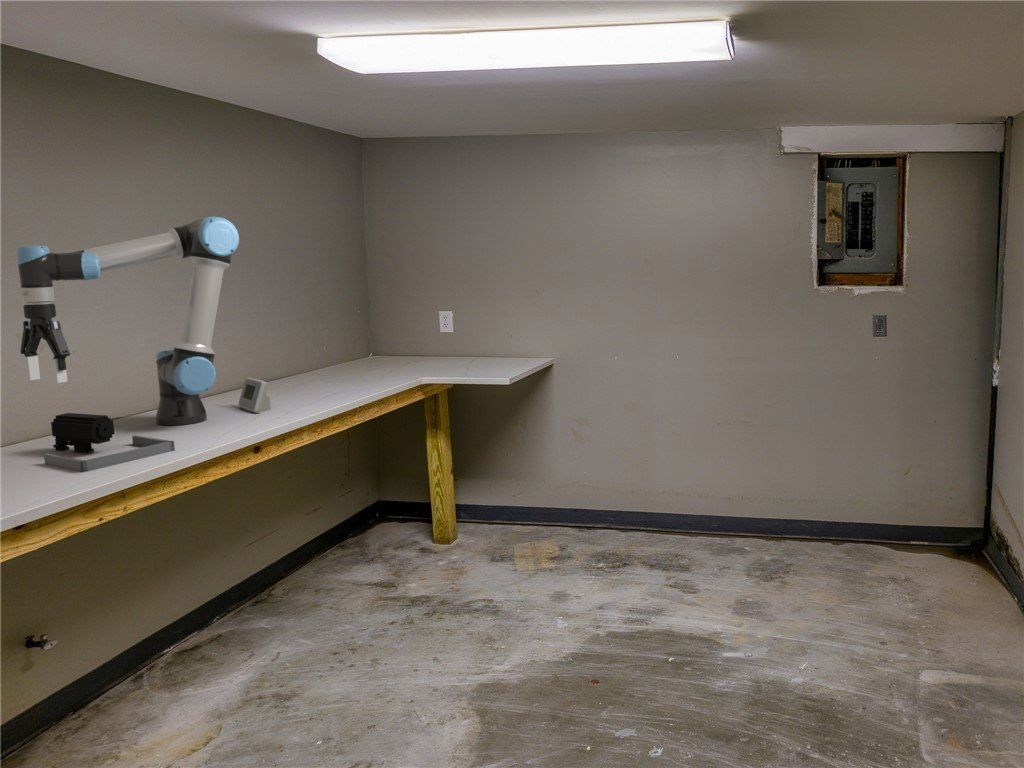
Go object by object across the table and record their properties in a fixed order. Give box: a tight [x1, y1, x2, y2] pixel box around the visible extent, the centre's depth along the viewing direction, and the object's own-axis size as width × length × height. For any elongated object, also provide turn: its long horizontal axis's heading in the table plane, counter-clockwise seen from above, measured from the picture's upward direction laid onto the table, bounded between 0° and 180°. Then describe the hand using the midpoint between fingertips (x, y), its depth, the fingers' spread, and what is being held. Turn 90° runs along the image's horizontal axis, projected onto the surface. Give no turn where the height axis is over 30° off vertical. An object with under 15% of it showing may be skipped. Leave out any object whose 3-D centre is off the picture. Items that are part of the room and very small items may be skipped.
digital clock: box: [237, 377, 272, 414], centre depth 274 cm, size 16×9×11 cm, turn 27°
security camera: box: [50, 412, 115, 454], centre depth 217 cm, size 7×18×10 cm, turn 69°
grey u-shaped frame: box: [43, 434, 176, 473], centre depth 211 cm, size 25×17×2 cm
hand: (48, 381), depth 222 cm, fingers open, 13 cm apart
